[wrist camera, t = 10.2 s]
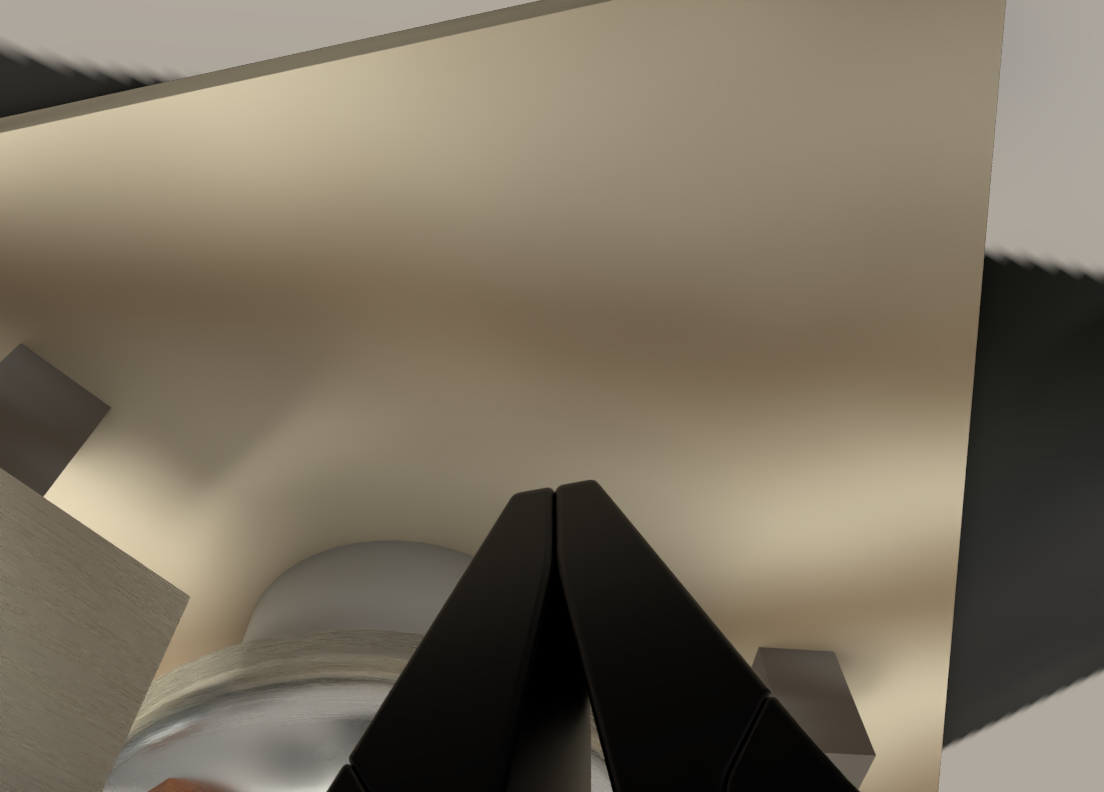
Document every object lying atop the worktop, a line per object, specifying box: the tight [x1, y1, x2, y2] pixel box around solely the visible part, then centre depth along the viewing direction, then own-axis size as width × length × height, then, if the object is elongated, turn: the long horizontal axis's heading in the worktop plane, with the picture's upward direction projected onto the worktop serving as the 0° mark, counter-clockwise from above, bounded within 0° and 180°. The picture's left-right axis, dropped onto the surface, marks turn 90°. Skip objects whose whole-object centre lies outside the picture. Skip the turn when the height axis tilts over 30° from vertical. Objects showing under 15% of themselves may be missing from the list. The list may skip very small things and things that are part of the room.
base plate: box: [0, 0, 1006, 792], centre depth 16 cm, size 22×22×5 cm
